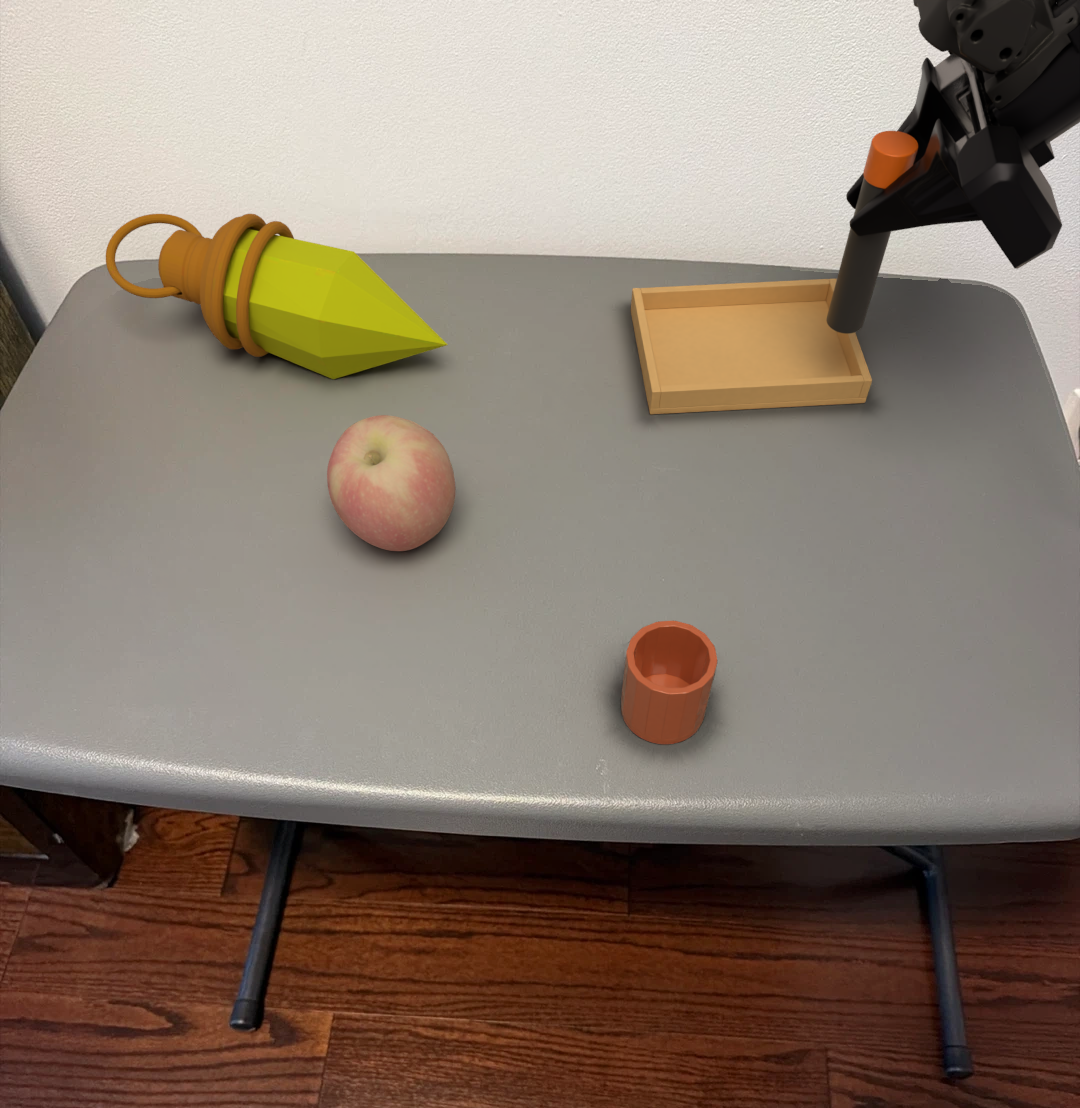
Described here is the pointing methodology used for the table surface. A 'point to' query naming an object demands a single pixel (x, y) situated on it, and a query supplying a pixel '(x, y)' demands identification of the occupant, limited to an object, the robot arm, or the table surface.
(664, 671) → the pen cup
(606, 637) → the table surface
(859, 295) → the cylinder
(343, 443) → the apple
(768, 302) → the tray
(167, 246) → the plumb bob
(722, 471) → the table surface
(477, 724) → the table surface
